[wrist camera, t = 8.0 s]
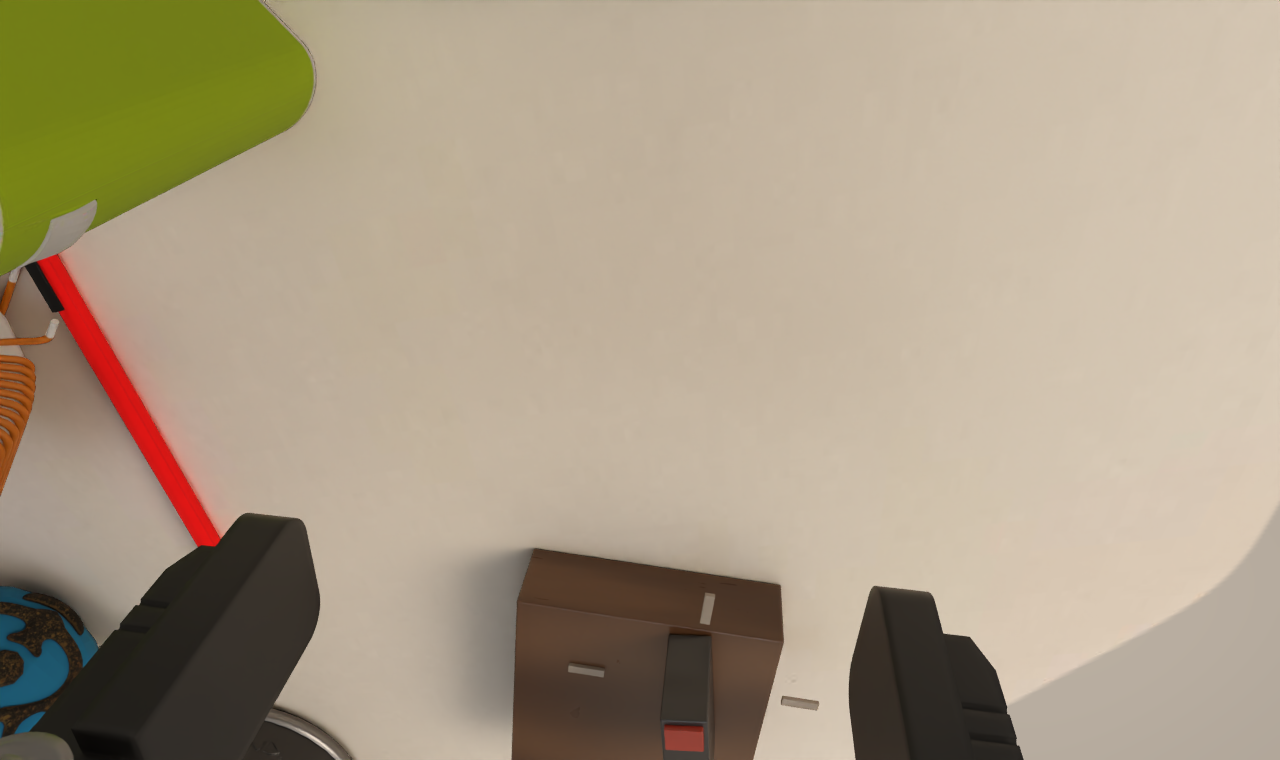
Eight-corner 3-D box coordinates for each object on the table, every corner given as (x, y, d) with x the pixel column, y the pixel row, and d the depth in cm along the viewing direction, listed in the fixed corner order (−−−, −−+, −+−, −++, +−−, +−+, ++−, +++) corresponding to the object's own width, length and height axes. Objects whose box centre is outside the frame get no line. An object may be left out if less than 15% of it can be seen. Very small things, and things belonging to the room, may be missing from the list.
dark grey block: (714, 734, 34) (711, 830, 30) (675, 732, 34) (667, 827, 30) (711, 635, 31) (707, 728, 28) (668, 633, 31) (659, 726, 28)
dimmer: (781, 751, 38) (784, 816, 36) (526, 711, 39) (509, 772, 36) (837, 556, 32) (846, 616, 30) (535, 511, 33) (516, 567, 30)
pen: (-5, 133, 28) (-32, 142, 27) (244, 571, 37) (231, 589, 36) (-27, 138, 28) (-55, 147, 27) (226, 573, 37) (212, 591, 36)
